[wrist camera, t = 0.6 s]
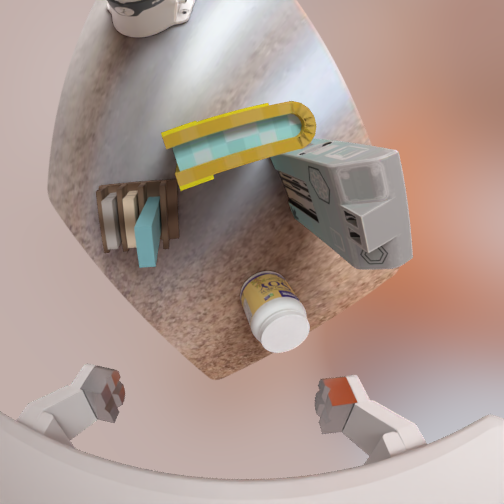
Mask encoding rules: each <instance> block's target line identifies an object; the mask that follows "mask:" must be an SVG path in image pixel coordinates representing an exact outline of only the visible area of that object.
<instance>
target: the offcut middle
mask: <svg viewBox="0 0 504 504" xmlns="http://www.w3.org/2000/svg"><path fill="white" fill-rule="evenodd" d="M122 200H123V211H124V220H125V229H126V237H127V245H128V248H137V247H136V239H135V230H134V227H135V225H136V222H137V220H138V218H139V203H138V190H137V191H129V192H128V194H127V195H126V196H125V197H124V198H123V199H122Z"/></svg>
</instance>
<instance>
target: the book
mask: <svg viewBox="0 0 504 504" xmlns="http://www.w3.org/2000/svg"><path fill="white" fill-rule="evenodd" d="M315 132H316V122H315V118H314V115H313V114H312V112H311V111H310V109H309V108H307V107H306V106H305V105H303V104H302V103H299V102H294V101H289V102H284V103H279V104H274V105H269V104H268V103H265V104H261V105H256V106H252V107H248V108H244V109H240V110H236V111H232V112H229V113H225V114H221V115H218V116H215V117H211V118H208V119H205V120H201V121H198V122H196V121H193V122H190V123H187V124H184V125H181V126H179V127H176V128H173V129H170V130H167V131H165V132H162V133H161V134H162V137H163V141H164V144H165V147H166V150H167V149H169V148H172V149H173V152H174V155H175V158H176V161H177V166H176V172H175V176H176V179H177V182H178V184H179V187H180V190H181V191H182V190H184V189H187V188H190V187H193V186H195V185H198V184H201V183H204V182H207V181H210V180H213V179H214V176H213V175H214V174H217V173H220V172H223V171H226V170H229V169H232V168H235V167H239V166H242V165H245V164H248V163H252V162H255V161H258V160H262V159H265V158H269V157H272V156H276V155H279V154H283V153H287V152H291V151H294V150H298V149H302V148H304V147H306V146H307V145H308V144H309V143H311V141H312V139H313V137H314V136H315Z"/></svg>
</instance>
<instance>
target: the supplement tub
mask: <svg viewBox="0 0 504 504" xmlns="http://www.w3.org/2000/svg"><path fill="white" fill-rule="evenodd" d="M240 300H241V304H242V306H243V309H244V311H245V314H246V317H247V319H248V322H249V325H250V327H251V331H252V333H253V335H254V336H255V338H256V339H257V340H258V341H260V342H261V343H262V345H263V347H264V348H265V349H266V350H268V351H270V352H274V353H282V352H287V351H290V350H292V349H294V348H296V347H297V346H299V345H300V344H301V343H302V342H303V341H304V340H305V339H306V337H307V336H308V333H309V329H310V326H309V322H308V320H307V318H306V311H305V308H304V306H303V305H302V303H301V302H300V300H299V299H298V298H297V296H296V295H295V293H294V292H293V290H292V289H291V287H290V286H289V284H288V283H287V281H286V280H285V278H284V277H283V276H281V275H280V274H279V273H276V272H273V271H263V272H259V273H257V274H254V275H253V276H251V277H250V278H249V279H248V280H247V281H246V282H245V283H244V285H243V286H242V289H241V293H240Z"/></svg>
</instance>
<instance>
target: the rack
mask: <svg viewBox="0 0 504 504" xmlns="http://www.w3.org/2000/svg"><path fill="white" fill-rule="evenodd" d="M137 190H138V203H139V216H140V214H141V212H142V210H143V208H144V206H145V203H146V201H147V199H148V197H158V196H160V207H161V223H162V230H161V236H160V239H163V248H164V249H169V240H170V239H175V238H179V225H178V201H177V179H169V180H153V181H140V182H129V183H118V184H108V185H101V186H99V190H97V191H96V197H97V206H98V215H99V222H100V229H101V236H102V242H103V248H104V253H109V252H110V250H111V249H109V250H108V247H107V241H106V235H105V228H104V221H103V213H102V204H101V201H102V200H103V199H105V198H106V197H107V196H108V195H109V194H110V193H115V192H116V193H117V204H118V214H119V223H120V231H121V239H122V241H121V242H122V246H123V252H126V251H129V248H128V245H127V237H126V229H125V220H124V211H123V200H122V199H123V198H124V197H125V196H126V195H127V194H128V192H129V191H137Z"/></svg>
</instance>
